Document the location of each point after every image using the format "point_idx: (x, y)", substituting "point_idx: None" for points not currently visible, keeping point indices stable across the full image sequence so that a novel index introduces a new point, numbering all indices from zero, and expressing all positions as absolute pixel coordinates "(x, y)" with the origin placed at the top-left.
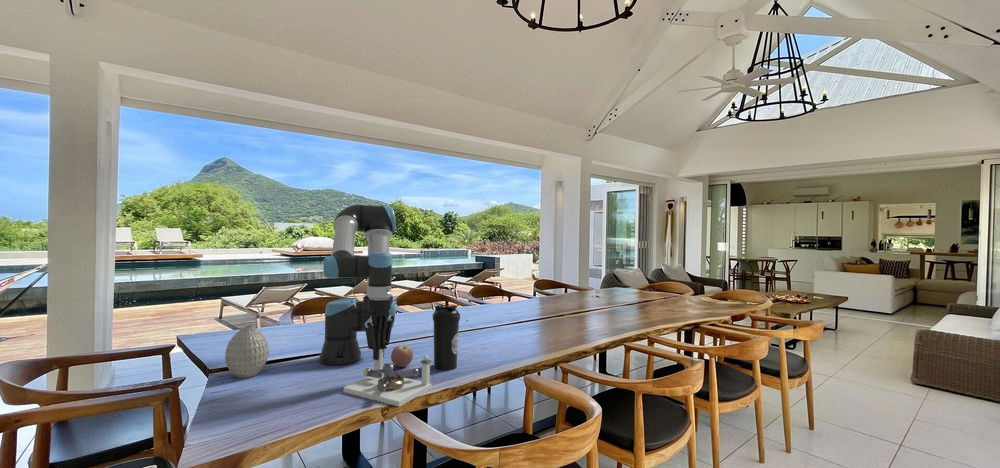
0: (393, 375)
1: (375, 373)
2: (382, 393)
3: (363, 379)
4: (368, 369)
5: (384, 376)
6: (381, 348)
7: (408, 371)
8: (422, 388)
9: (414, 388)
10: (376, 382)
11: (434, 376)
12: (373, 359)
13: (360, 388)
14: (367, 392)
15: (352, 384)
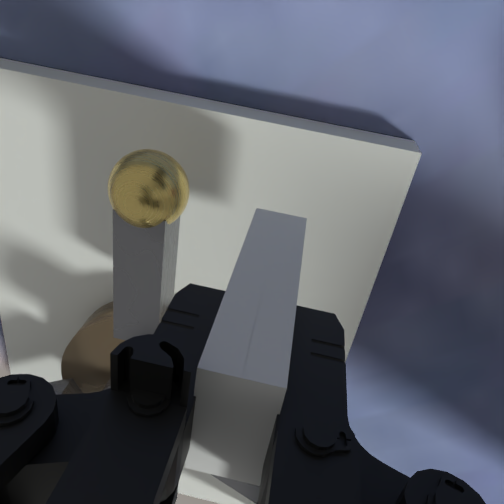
0: (362, 306)
1: (116, 306)
2: (47, 363)
3: (184, 115)
4: (134, 221)
5: (105, 386)
6: (264, 467)
7: (254, 495)
8: (207, 499)
9: (191, 471)
10: None
11: (487, 479)
12: (190, 284)
13: (22, 207)
14: (5, 284)
15: (43, 93)
